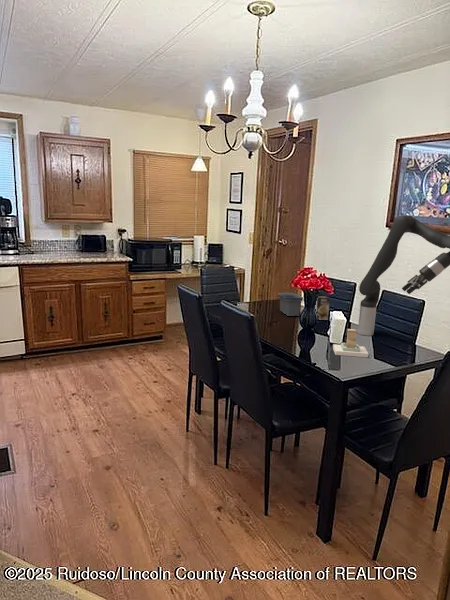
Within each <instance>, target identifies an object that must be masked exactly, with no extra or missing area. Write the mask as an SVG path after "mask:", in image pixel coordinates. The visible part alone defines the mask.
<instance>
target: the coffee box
mask: <svg viewBox="0 0 450 600" xmlns="http://www.w3.org/2000/svg"><path fill="white" fill-rule="evenodd" d="M317 296H318V298H317V301H316V305H315V309H316V312H317V315H318V319H319V320H329V311H330V300H331V297H329V296H327V295H317Z"/></svg>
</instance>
